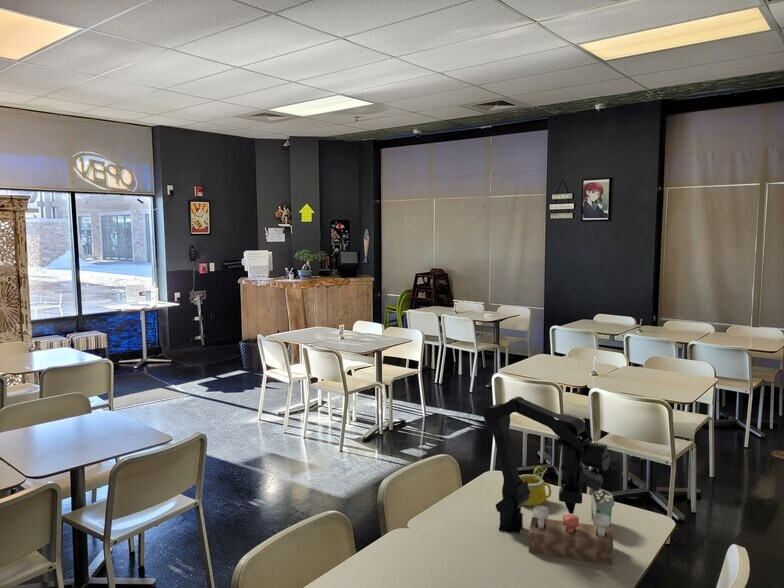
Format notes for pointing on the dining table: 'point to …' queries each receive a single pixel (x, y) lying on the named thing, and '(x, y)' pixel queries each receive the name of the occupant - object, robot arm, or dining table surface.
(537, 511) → the left grey plug
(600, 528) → the right grey plug
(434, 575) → the dining table surface
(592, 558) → the walnut plug block
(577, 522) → the salmon round-head knob
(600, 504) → the food container
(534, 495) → the mug
